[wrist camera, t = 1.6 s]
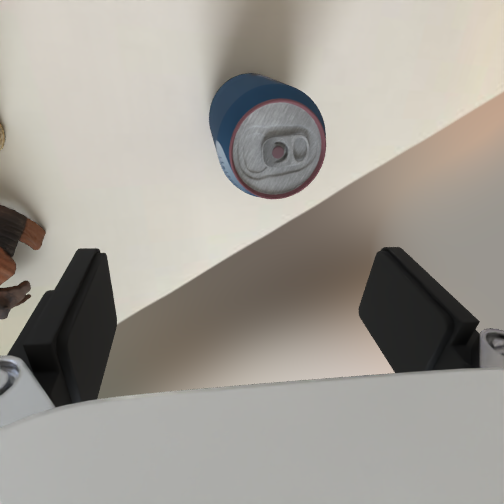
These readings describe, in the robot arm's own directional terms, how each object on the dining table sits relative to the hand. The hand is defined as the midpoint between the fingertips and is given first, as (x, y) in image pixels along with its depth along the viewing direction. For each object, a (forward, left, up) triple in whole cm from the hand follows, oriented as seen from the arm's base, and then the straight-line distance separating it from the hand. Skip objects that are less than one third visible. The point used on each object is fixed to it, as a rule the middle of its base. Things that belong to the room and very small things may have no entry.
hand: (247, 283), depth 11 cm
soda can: (-2, +3, -22) cm, 22 cm away
